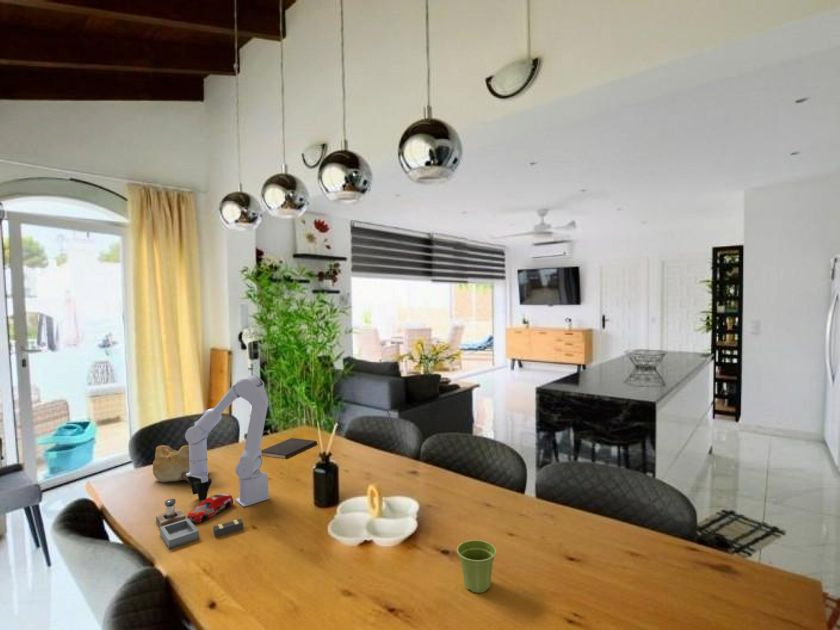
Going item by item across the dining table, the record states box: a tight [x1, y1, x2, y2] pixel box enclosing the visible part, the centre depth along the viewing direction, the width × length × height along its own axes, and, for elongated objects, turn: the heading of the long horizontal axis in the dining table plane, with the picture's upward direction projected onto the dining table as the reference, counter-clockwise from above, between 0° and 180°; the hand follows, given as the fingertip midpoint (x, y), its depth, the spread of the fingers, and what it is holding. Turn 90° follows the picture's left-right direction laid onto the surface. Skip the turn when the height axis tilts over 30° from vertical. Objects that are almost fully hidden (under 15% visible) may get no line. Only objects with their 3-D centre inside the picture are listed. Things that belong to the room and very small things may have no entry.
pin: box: [164, 498, 176, 519], centre depth 144 cm, size 3×3×7 cm
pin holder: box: [155, 508, 187, 528], centre depth 144 cm, size 7×7×2 cm
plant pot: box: [456, 539, 497, 594], centre depth 108 cm, size 9×9×9 cm
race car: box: [186, 493, 234, 524], centre depth 150 cm, size 16×7×5 cm, turn 157°
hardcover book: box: [260, 437, 318, 460], centre depth 217 cm, size 16×23×2 cm
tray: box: [159, 518, 200, 550], centre depth 135 cm, size 8×11×2 cm
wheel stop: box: [212, 518, 244, 538], centre depth 137 cm, size 8×3×3 cm, turn 125°
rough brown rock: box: [152, 444, 190, 483], centre depth 184 cm, size 23×17×15 cm
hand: (199, 496), depth 160 cm, fingers open, 7 cm apart
